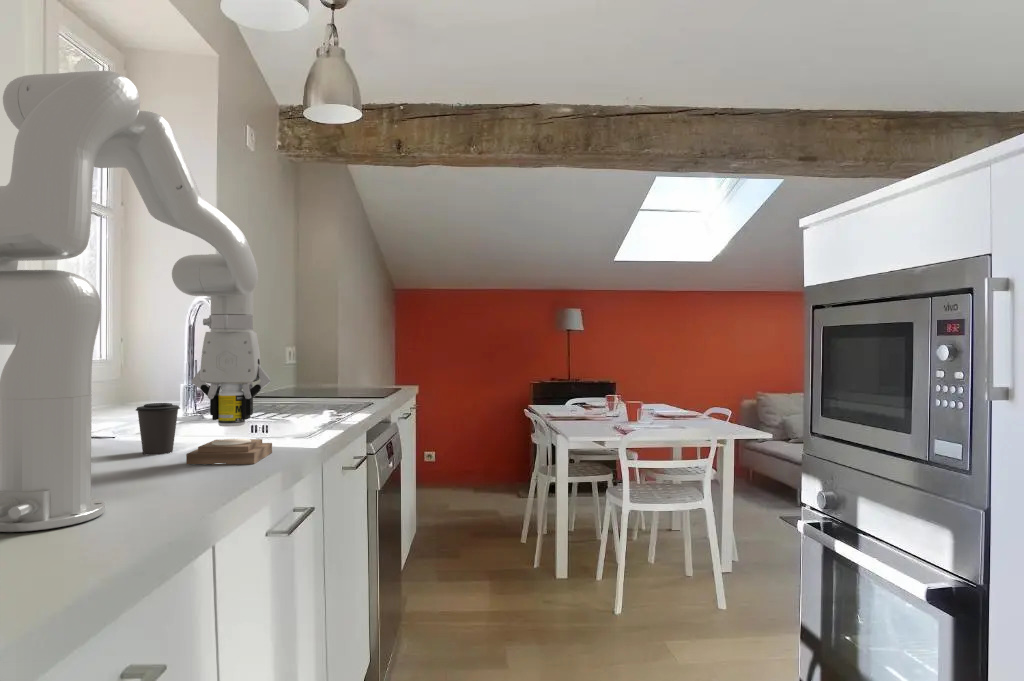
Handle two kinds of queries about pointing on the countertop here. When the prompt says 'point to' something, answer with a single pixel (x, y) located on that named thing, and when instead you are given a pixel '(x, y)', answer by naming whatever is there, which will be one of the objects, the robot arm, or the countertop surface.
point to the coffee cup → (157, 427)
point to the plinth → (230, 452)
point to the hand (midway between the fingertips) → (231, 418)
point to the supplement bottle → (230, 405)
